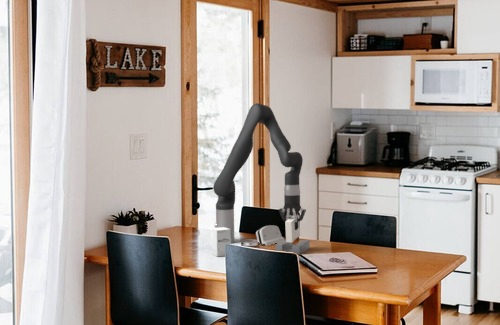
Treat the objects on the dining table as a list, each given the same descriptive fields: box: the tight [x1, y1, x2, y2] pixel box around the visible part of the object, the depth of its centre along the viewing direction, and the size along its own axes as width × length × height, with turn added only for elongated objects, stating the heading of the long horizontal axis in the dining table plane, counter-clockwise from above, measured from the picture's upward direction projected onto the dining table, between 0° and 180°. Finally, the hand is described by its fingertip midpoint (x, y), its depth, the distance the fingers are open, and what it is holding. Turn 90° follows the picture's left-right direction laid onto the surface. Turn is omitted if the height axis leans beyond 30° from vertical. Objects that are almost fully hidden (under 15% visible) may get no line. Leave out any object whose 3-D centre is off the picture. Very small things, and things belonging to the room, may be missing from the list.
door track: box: [274, 238, 311, 255], centre depth 384 cm, size 16×12×4 cm
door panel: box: [284, 215, 301, 243], centre depth 384 cm, size 12×3×10 cm, turn 158°
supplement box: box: [209, 227, 232, 257], centre depth 376 cm, size 7×7×13 cm
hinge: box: [255, 224, 286, 247], centre depth 405 cm, size 17×5×10 cm, turn 143°
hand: (292, 229), depth 384 cm, fingers closed on door panel, 3 cm apart
